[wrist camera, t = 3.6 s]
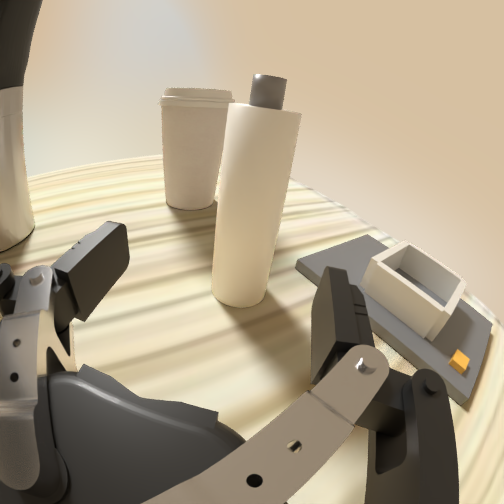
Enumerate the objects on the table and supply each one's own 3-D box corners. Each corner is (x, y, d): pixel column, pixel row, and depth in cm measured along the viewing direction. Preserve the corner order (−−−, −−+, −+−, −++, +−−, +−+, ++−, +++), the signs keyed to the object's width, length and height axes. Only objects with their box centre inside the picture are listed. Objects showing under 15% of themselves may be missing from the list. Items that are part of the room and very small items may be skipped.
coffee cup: (165, 185, 40) (171, 88, 32) (227, 191, 40) (239, 92, 32) (145, 211, 32) (147, 87, 23) (221, 219, 32) (236, 91, 24)
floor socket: (295, 268, 26) (305, 231, 24) (364, 241, 33) (374, 213, 31) (460, 405, 13) (493, 374, 11) (487, 330, 20) (506, 302, 18)
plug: (201, 280, 22) (219, 72, 14) (244, 267, 25) (274, 81, 16) (230, 315, 20) (264, 71, 11) (275, 296, 22) (322, 86, 13)
